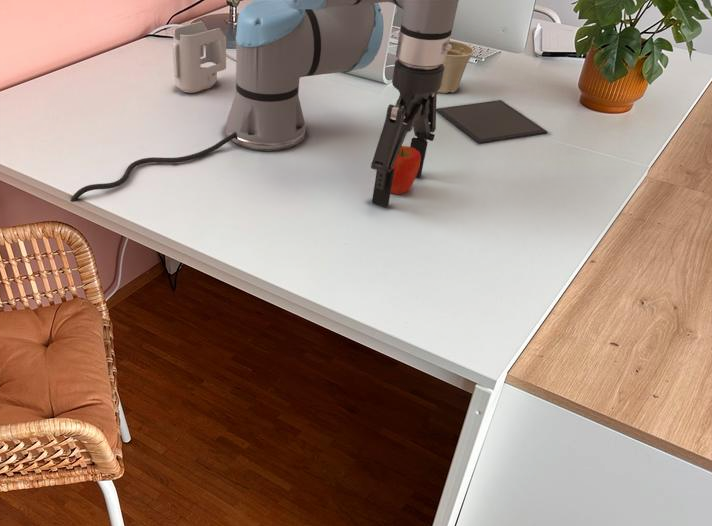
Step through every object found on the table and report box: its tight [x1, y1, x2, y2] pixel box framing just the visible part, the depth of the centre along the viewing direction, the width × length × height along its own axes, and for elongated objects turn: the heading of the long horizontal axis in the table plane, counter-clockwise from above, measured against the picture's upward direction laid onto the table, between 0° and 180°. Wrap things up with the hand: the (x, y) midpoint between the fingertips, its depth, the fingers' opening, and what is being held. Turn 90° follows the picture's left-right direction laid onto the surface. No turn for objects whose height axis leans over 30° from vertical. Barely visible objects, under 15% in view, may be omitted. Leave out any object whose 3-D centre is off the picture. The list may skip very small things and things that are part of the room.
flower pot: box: [437, 40, 475, 94], centre depth 153 cm, size 9×9×9 cm
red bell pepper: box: [390, 145, 421, 195], centre depth 119 cm, size 6×6×8 cm
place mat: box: [436, 99, 548, 145], centre depth 144 cm, size 16×16×1 cm
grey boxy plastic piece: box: [172, 20, 227, 94], centre depth 149 cm, size 7×12×12 cm, turn 135°
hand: (397, 188), depth 122 cm, fingers open, 12 cm apart
